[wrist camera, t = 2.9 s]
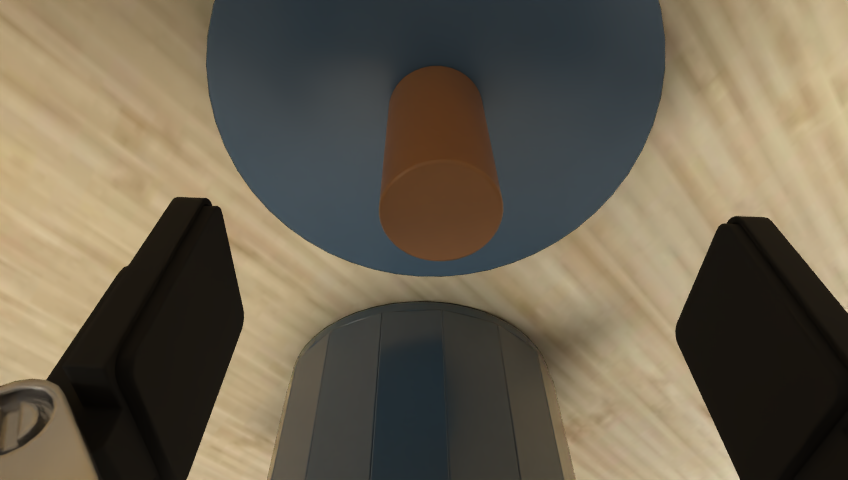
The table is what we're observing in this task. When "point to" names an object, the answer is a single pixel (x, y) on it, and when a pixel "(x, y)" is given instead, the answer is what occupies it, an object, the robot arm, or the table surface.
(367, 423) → the pot
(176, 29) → the table surface
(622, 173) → the lid
